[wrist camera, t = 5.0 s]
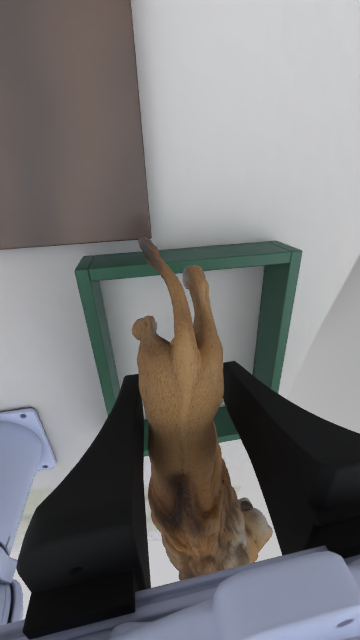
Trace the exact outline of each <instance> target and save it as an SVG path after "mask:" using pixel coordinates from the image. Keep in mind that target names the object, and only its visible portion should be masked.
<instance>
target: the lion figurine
mask: <svg viewBox="0 0 360 640" xmlns="http://www.w3.org/2000/svg"><path fill="white" fill-rule="evenodd" d="M138 242H139V246H140V248H141V250H142V251H143V253H144V256H145V258H146V261H147V262H148V264H149V265H151V266H152V267H153V268H154V269H155V270H156V271H157V272H158V273H159V274H160V275H161V277H162V278H163V279H164V281H165V283H166V285H167V287H168V290H169V293H170V296H171V300H172V305H173V312H174V332H175V336H174V338H173V339H172V341H171V343H170V342H168V341H167V340H165V339H164V338H162V337H160V336H159V335H158V334H157V333H156V330H157V323H156V321H155V319H154V317H153V316H149V315H148V316H145V317H144V318H141V319H138V320H137V321H136V322H135V323H134V325H133V328H132V334H133V335H134V336H135V338H136V339H137V340H141V342H140V346H139V353H138V357H137V365H138V369H139V391H140V394H141V397H142V400H143V403H144V408H145V412H146V416H147V419H148V422H149V432H148V453H149V458H150V462H151V478H150V482H149V490H148V499H149V505H150V508H151V518H152V521H153V523H154V525H155V526H156V528H157V529H158V530H159V531H160V532H161V536H162V542H163V545H164V547H165V549H166V553H167V555H168V557H169V559H170V561H171V563H172V564H173V565H174V566H175V568H176V569H177V570H178V571H179V579H180V581H182V580H186V579H190V578H194V577H198V576H202V575H206V574H210V573H214V572H218V571H222V570H226V569H230V568H235V567H239V566H243V565H247V564H251V563H255V561H256V560H257V558H258V553H259V551H260V550H261V549H262V547H263V546H264V545H265V544H266V542H267V541H268V540H269V539H270V537H271V536H272V533H273V531H272V528H271V527H270V526H269V525H268V523H267V520H266V518H265V516H264V515H263V514H262V513H261V512H260V511H259V510H258V509H256V508H253V506H252V504H251V502H250V501H249V499H248V498H242V499H239V500H238V499H237V495H236V492H235V490H234V488H233V487H232V486H231V481H230V477H229V473H228V470H227V468H226V465H225V462H224V460H223V459H222V455H221V448H220V445H219V443H218V440H217V433H216V427H215V423H214V421H213V419H214V417H215V415H216V413H217V411H218V409H219V407H220V404H221V402H222V399H223V395H224V378H223V348H222V344H221V341H220V339H219V336H218V334H217V330H216V326H215V323H214V319H213V315H212V311H211V307H210V300H209V286H208V283H207V281H206V279H205V274H204V271H203V269H202V268H201V267H200V266H198V265H191V266H188V267H186V268H185V269H184V271H183V284H184V286H185V288H186V289H189V291H190V295H191V298H192V301H193V306H194V312H195V317H194V324H193V323H192V318H191V313H190V309H189V305H188V302H187V299H186V295H185V292H184V290H183V287H182V284H181V283H180V281H179V279H178V278H177V276H176V275H175V274H174V272H173V271H172V270H171V269H170V267H169V266H168V265H167V264H166V263H165V262H164V261H163V260H162V258H161V257H160V254H159V251H158V248H157V247H156V246H155V245H154V244H153V243H152V241H151V240H149V239H148V238H146V237H143V238H140V239H139V241H138Z"/></svg>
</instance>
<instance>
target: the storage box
mask: <svg viewBox="0 0 360 640" xmlns="http://www.w3.org/2000/svg"><path fill="white" fill-rule="evenodd" d="M158 251H159V254H160V257H161V258H162V260H163V261H164V262H165V263H166V264H167V265H168V266H169V267H170V269H171V270H172V271H173V272H174V274H177V273H183V271H184V269H185V268H186V267H188V266H191V265H198V266H200V267H201V268H202V269H203V271H209V270H220V269H230V268H241V267H252V266H263V265H265V270H264V280H263V289H262V298H261V307H260V316H259V325H258V334H257V343H256V352H255V361H254V371H253V376H254V377H256V378H257V379H258V380H259V381H261V382H262V383H263V384H265V385H266V386H268V387H269V388H270V389H272V390H273V391H275V392H276V393H278V390H279V384H280V378H281V372H282V367H283V361H284V355H285V349H286V343H287V338H288V332H289V326H290V320H291V314H292V308H293V303H294V297H295V291H296V285H297V279H298V274H299V268H300V262H301V256H302V250H299V249H297V248H294V247H291V246H289V245H286V244H283V243H281V242H278V241H269V242H256V243H244V244H231V245H219V246H207V247H194V248H182V249H169V250H158ZM155 275H160V274H159V273H158V272H157V271H156V270H155V269H154V268H153V267H152V266H151V265H149V264H148V262H147V261H146V258H145V256H144V253H143V252H132V253H120V254H107V255H96V256H95V257H94V256H84V257H83V258H82V259H81V261H80V263H79V264H78V266H77V267H76V269H75V276H76V280H77V284H78V289H79V293H80V297H81V302H82V306H83V310H84V314H85V319H86V323H87V327H88V332H89V336H90V340H91V345H92V349H93V353H94V358H95V362H96V366H97V371H98V375H99V379H100V383H101V388H102V392H103V396H104V401H105V405H106V409H107V414H108V416H109V414H110V412H111V410H112V408H113V406H114V403H115V401H116V399H117V397H118V394H119V392H120V387H119V382H118V377H117V372H116V366H115V361H114V356H113V351H112V345H111V340H110V335H109V330H108V325H107V319H106V314H105V309H104V304H103V298H102V293H101V288H100V283H99V281H101V280H112V279H123V278H134V277H144V276H155ZM213 421H214V423H215V427H216V433H217V440H218V443H220V442H226V441H231V440H237V439H241V438H240V436H239V434H238V432H237V430H236V428H235V426H234V424H233V422H232V420H231V418H230V415H229V413H228V411H227V408H226V407H221V408H219V409H218V411H217V413H216V415H215V417H214V419H213ZM148 432H149V422H148V420H144V456H149V453H148Z"/></svg>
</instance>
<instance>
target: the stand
mask: <svg viewBox="0 0 360 640" xmlns="http://www.w3.org/2000/svg"><path fill="white" fill-rule="evenodd" d="M143 237H146V238H148V239H150V238H151V227H150V215H149V204H148V193H147V181H146V170H145V159H144V147H143V136H142V125H141V113H140V102H139V91H138V79H137V68H136V57H135V45H134V34H133V22H132V11H131V0H0V250H3V249H16V248H29V247H43V246H56V245H70V244H83V243H97V242H110V241H124V240H137V239H140V238H143Z"/></svg>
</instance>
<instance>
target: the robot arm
mask: <svg viewBox="0 0 360 640" xmlns="http://www.w3.org/2000/svg"><path fill="white" fill-rule="evenodd" d="M223 378H224V395H223V399H224V402H225V405H226V408H227V411H228V413H229V415H230V418H231V420H232V422H233V424H234V426H235V428H236V430H237V432H238V434H239V436H240V438H241V440H242V443H243V445H244V447H245V449H246V451H247V453H248V455H249V458H250V460H251V463H252V465H253V468H254V470H255V473H256V476H257V479H258V481H259V484H260V487H261V490H262V493H263V496H264V499H265V502H266V505H267V508H268V511H269V514H270V517H271V520H272V523H273V526H274V529H275V533H276V536H277V539H278V543H279V545H280V549H281V552H282V556H279V557H275V558H271V559H267V560H263V561H259V562H255V563H251V564H247V565H243V566H239V567H235V568H230V569H226V570H222V571H218V572H214V573H210V574H206V575H202V576H198V577H194V578H190V579H186V580H182V581H178V582H174V583H170V584H166V585H162V586H158V587H154V588H151V582H150V569H149V556H148V541H147V527H146V512H145V497H144V482H143V461H144V415H143V404H142V397H141V394H140V391H139V374H135V375H127V376H125V377H124V379H123V383H122V386H121V389H120V392H119V394H118V397H117V399H116V401H115V403H114V406H113V408H112V410H111V412H110V414H109V416H108V418H107V420H106V421H105V423H104V425H103V427H102V428H101V430H100V432H99V433H98V435H97V437H96V438H95V440H94V441H93V443H92V444H91V446H90V447H89V448H88V450H87V451H86V453H85V454H84V455H83V457H82V458H81V459H80V461H79V462H78V463H77V464H76V466H75V467H74V468H73V469H72V470H71V471H70V473H69V474H68V475H67V476H66V477H65V479H64V480H63V481H62V482H61V483H60V484H59V485H58V486H57V488H56V489H55V490H54V491H53V492H52V493H51V494H50V495H49V496H48V497H47V498H46V499H45V500H44V501H43V502H42V503H41V504H40V505H39V506H38V507H37V508H36V510H35V512H34V514H33V517H32V519H31V521H30V524H29V526H28V529H27V531H26V534H25V537H24V540H23V543H22V547H21V551H20V554H19V558H18V560H16V559H13V558H11V557H9V555H10V552H11V549H12V546H13V543H14V540H15V537H16V533H17V530H18V527H19V524H20V521H21V518H22V515H23V512H24V508H25V505H26V502H27V499H28V496H29V493H30V490H31V487H32V483H33V480H34V477H35V474H36V471H40V470H46V469H51V468H54V467H55V466H56V459H55V457H54V454H53V452H52V449H51V447H50V444H49V442H48V439H47V437H46V434H45V432H44V430H43V427H42V425H41V422H40V420H39V417H38V415H37V412H36V410H34V409H32V408H27V409H21V410H14V411H7V412H1V413H0V640H360V434H359V433H356V432H354V431H351V430H348V429H346V428H343V427H341V426H338V425H336V424H334V423H331V422H329V421H327V420H324V419H322V418H320V417H318V416H316V415H314V414H312V413H310V412H308V411H306V410H304V409H302V408H300V407H299V406H297V405H295V404H294V403H292V402H290V401H288V400H287V399H285V398H284V397H282V396H281V395H279V394H278V393H276V392H275V391H273V390H272V389H270V388H269V387H268V386H266V385H265V384H263V383H262V382H261V381H259V380H258V379H257V378H256V377H254V376H253V375H252V374H250V373H249V372H248V371H247V370H246V369H244V368H243V367H242V366H241V365H239V364H238V363H237V362H236V361H231V362H224V363H223ZM22 414H25V415H22ZM15 569H17V571H18V574H19V575H20V577H21V578H22V580H23V581H24V582H25V584H26V585H27V587H28V588H29V590H30V591H31V592H32V593H31V597H30V601H29V606H28V610H27V614H26V618H25V619H24V620H22V617H23V593H22V588H21V585H20V583H19V582H18V581H17V580H14V579H13V576H14V573H15Z"/></svg>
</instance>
